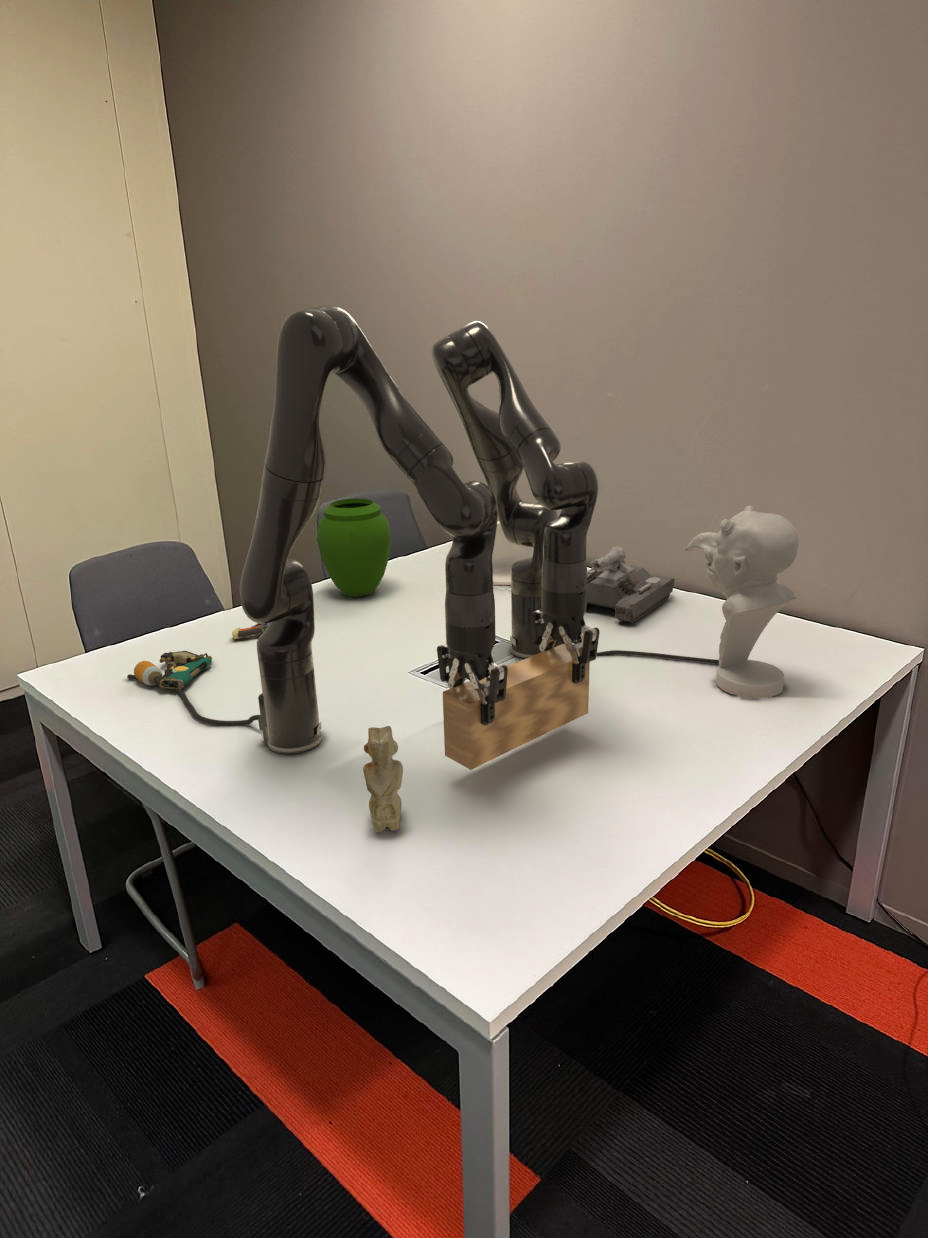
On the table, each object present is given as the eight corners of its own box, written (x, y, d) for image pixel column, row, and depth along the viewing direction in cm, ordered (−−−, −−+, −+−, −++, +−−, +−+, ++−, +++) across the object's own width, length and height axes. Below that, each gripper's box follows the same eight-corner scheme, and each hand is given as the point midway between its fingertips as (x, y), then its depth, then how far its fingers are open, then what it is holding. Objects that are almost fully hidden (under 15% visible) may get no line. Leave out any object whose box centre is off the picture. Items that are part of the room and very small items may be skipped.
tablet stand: (569, 585, 229) (570, 524, 223) (476, 584, 232) (475, 523, 226) (570, 566, 246) (571, 508, 240) (484, 564, 249) (483, 507, 243)
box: (561, 701, 154) (562, 643, 150) (588, 713, 150) (590, 653, 146) (444, 755, 137) (442, 691, 133) (470, 770, 133) (469, 704, 128)
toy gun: (228, 631, 198) (268, 628, 196) (261, 608, 215) (298, 605, 213) (230, 642, 198) (270, 639, 196) (263, 618, 216) (300, 616, 214)
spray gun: (177, 659, 191) (231, 671, 185) (120, 684, 176) (176, 698, 171) (176, 641, 190) (230, 653, 184) (118, 665, 175) (174, 678, 169)
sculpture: (406, 808, 131) (401, 721, 126) (405, 835, 125) (400, 745, 119) (368, 810, 131) (361, 723, 126) (365, 837, 124) (358, 747, 119)
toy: (603, 584, 229) (605, 530, 224) (673, 597, 218) (677, 540, 213) (555, 612, 210) (556, 553, 205) (630, 627, 199) (633, 566, 194)
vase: (409, 587, 231) (404, 499, 223) (364, 609, 216) (357, 515, 208) (353, 577, 241) (346, 492, 233) (306, 597, 226) (297, 507, 218)
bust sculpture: (717, 648, 186) (730, 489, 174) (806, 688, 166) (828, 512, 154) (660, 663, 179) (669, 500, 167) (745, 707, 159) (763, 525, 147)
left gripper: (420, 611, 131) (425, 708, 137) (484, 635, 121) (486, 740, 127) (457, 599, 136) (460, 694, 142) (521, 622, 126) (521, 723, 132)
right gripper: (517, 579, 144) (517, 670, 150) (582, 599, 134) (579, 695, 140) (548, 570, 149) (547, 658, 154) (612, 588, 138) (609, 682, 144)
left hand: (472, 715), depth 134 cm, fingers closed on box, 6 cm apart
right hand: (562, 675), depth 147 cm, fingers closed on box, 6 cm apart
